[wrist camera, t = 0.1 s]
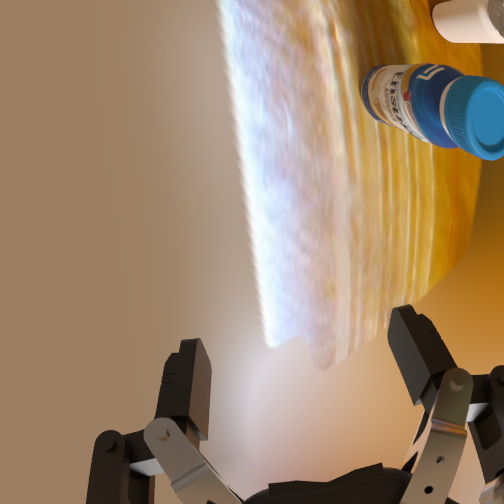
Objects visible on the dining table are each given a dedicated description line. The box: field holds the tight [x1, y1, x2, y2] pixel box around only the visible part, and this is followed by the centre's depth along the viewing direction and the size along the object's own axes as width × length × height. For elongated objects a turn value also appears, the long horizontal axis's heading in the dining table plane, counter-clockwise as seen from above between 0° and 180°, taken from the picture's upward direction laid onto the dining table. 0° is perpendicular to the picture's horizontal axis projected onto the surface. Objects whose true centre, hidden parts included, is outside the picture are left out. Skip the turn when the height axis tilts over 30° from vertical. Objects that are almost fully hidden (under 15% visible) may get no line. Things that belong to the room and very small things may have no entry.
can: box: [432, 0, 504, 43], centre depth 20 cm, size 6×6×12 cm
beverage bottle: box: [361, 63, 504, 160], centre depth 24 cm, size 8×8×20 cm
